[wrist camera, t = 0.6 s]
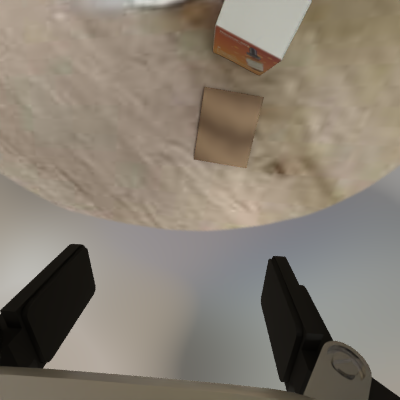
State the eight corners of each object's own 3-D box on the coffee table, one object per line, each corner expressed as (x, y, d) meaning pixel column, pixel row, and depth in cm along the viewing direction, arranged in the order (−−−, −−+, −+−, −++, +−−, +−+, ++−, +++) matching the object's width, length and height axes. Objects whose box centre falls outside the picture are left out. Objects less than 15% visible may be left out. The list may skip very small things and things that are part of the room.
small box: (212, 52, 31) (212, 24, 21) (229, 7, 29) (239, -46, 19) (260, 77, 32) (282, 62, 22) (280, 35, 30) (314, -2, 20)
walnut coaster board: (204, 87, 33) (204, 86, 32) (262, 97, 33) (263, 97, 32) (194, 158, 37) (193, 159, 36) (245, 166, 37) (246, 168, 36)
